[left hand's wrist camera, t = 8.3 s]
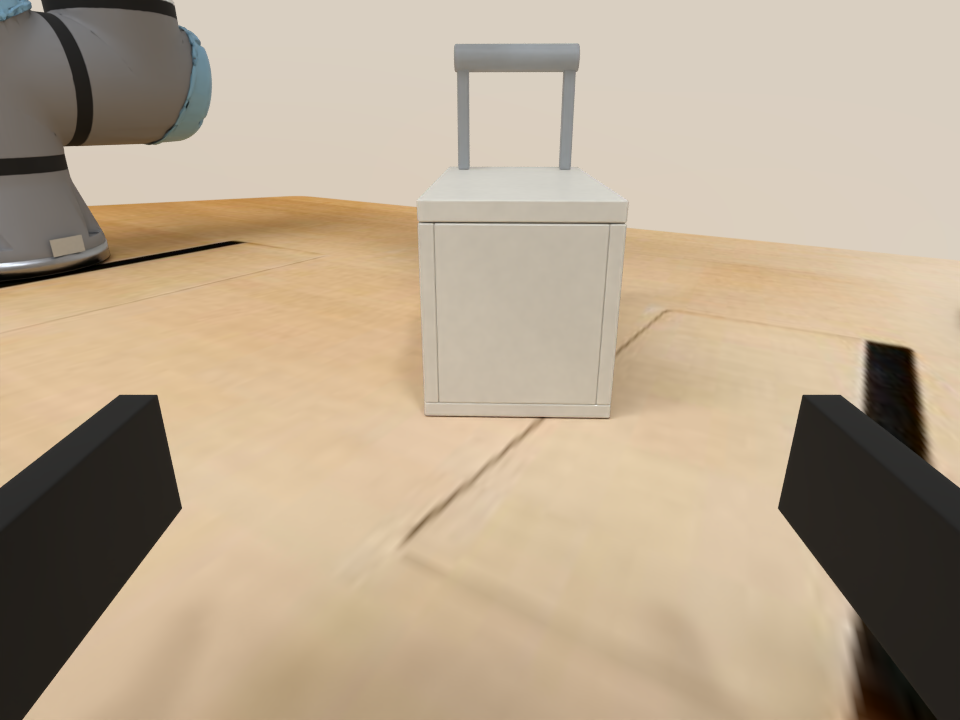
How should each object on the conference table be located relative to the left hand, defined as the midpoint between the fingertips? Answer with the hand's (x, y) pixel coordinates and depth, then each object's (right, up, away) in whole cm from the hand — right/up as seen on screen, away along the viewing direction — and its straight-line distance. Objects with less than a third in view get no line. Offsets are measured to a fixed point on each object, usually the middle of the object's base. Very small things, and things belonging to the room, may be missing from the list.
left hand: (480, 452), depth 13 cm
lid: (+2, +11, +21) cm, 24 cm away
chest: (+2, +2, +25) cm, 25 cm away
